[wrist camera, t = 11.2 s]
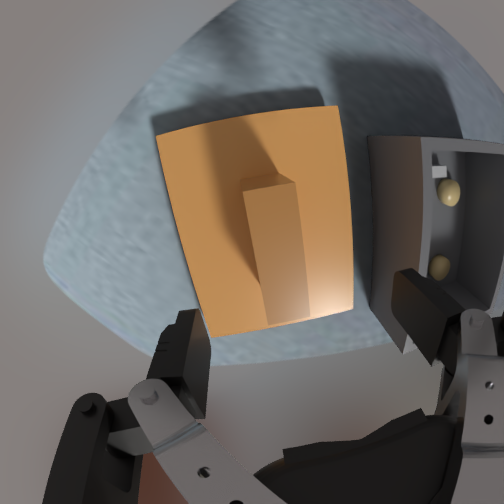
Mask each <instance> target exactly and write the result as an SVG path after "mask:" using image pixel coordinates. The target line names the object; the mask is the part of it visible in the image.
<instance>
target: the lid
mask: <svg viewBox="0 0 504 504" xmlns="http://www.w3.org/2000/svg"><path fill="white" fill-rule="evenodd" d="M156 139H157V144H158V149H159V154H160V158H161V163H162V167H163V172H164V176H165V180H166V185H167V189H168V193H169V197H170V201H171V205H172V209H173V213H174V217H175V221H176V224H177V228H178V232H179V235H180V239H181V243H182V246H183V250H184V253H185V257H186V260H187V263H188V267H189V270H190V274H191V277H192V280H193V283H194V287H195V290H196V293H197V296H198V299H199V302H200V305H201V308H202V311H203V314H204V317H205V320H206V323H207V326H208V329H209V332H210V335H211V338H213V337H219V336H226V335H232V334H238V333H244V332H250V331H255V330H261V329H266V328H271V327H277V326H282V325H286V324H291V323H296V322H301V321H305V320H310V319H314V318H318V317H323V316H327V315H331V314H335V313H339V312H343V311H347V310H351V309H353V238H352V219H351V205H350V193H349V182H348V172H347V164H346V156H345V148H344V141H343V134H342V128H341V121H340V115H339V110H338V106H321V107H307V108H297V109H287V110H279V111H271V112H264V113H257V114H251V115H245V116H239V117H233V118H228V119H223V120H218V121H213V122H209V123H204V124H200V125H195V126H191V127H187V128H183V129H179V130H176V131H172V132H168V133H165V134H161V135H158V136H156Z"/></svg>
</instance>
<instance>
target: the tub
mask: <svg viewBox="0 0 504 504" xmlns="http://www.w3.org/2000/svg"><path fill="white" fill-rule="evenodd" d="M367 141H368V150H369V160H370V172H371V187H372V210H373V261H372V284H371V299H370V309H371V311H372V312H373V313H374V315H375V316H376V318H377V319H378V320H379V322H380V323H381V324H382V326H383V327H384V329H385V330H386V331H387V333H388V334H389V336H390V337H391V338H392V340H393V341H394V343H395V344H396V345H397V347H398V348H399V350H400V351H401V353H402V354H405V353H407V352H410V351H412V350H415V349H418V347H417V346H416V345H415V343H414V342H413V341H412V339H411V338H410V337H409V335H408V334H407V333H406V331H405V330H404V329H403V327H402V326H401V325H400V324H399V322H398V321H397V320H396V318H395V317H394V316H393V313H392V310H391V298H392V288H393V278H394V274H395V272H396V271H400V270H404V269H408V268H413V269H414V270H416V271H417V272H418V273H419V274H420V275H421V276H424V277H426V278H428V279H430V280H433V281H434V282H435V283H436V284H438V285H439V286H440V287H441V289H443V290H445V291H446V293H447V294H449V295H450V296H451V297H452V298H454V299H455V300H456V301H457V302H458V303H459V304H460V305H461V306H462V307H463V308H464V309H466V310H468V309H479V310H482V311H484V312H486V313H487V314H488V315H489V314H491V313H492V311H493V308H494V305H495V302H496V299H497V295H498V292H499V288H500V285H501V281H502V277H503V273H504V144H499V143H493V142H486V141H479V140H471V139H462V138H449V137H433V136H367Z"/></svg>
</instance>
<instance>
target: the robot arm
mask: <svg viewBox="0 0 504 504" xmlns="http://www.w3.org/2000/svg"><path fill="white" fill-rule="evenodd" d="M391 310H392V313H393V316H394V317H395V318H396V320H397V321H398V322H399V324H400V325H401V326H402V327H403V329H404V330H405V331H406V333H407V334H408V335H409V337H410V338H411V339H412V341H413V342H414V343H415V345H416V346H417V347H418V349H419V350H420V351H421V353H422V354H423V355H424V357H425V358H426V360H427V361H428V362H429V364H430V365H431V367H432V366H434V365H436V364H439V363H441V362H442V363H443V364H444V366H443V368H442V371H441V379H440V387H439V394H438V400H437V406H436V410H435V413H434V415H427V416H425V414H424V413H423V411H422V409H421V408H420V409H418V410H415V411H413V412H411V413H408V414H406V415H404V416H401V417H399V418H396V419H394V420H391V421H390V422H388V423H387V424H385V425H384V426H382V427H381V428H379V429H378V430H376V431H374V432H372V433H371V434H369V435H367V436H366V437H364V438H362V439H360V440H351V441H334V442H318V443H313V444H308V445H304V446H299V447H293V448H287V449H283V455H284V458H281V459H279V460H277V461H274V462H272V463H270V464H268V465H267V466H265V467H263V468H262V469H260V470H259V471H258V472H256V473H255V474H254V475H252V474H251V473H250V472H248V471H247V470H246V469H245V468H244V467H243V466H242V465H241V464H240V463H239V462H238V461H236V459H234V457H233V456H232V455H230V453H228V451H227V450H226V449H225V448H224V447H222V445H221V444H220V443H219V442H218V441H217V440H216V439H215V438H214V437H213V436H212V435H211V434H210V433H209V431H208V430H207V429H206V428H205V427H204V426H203V425H202V424H201V423H198V422H196V420H195V419H205V416H206V415H205V414H206V403H207V392H208V380H209V369H210V359H211V345H210V340H209V337H208V334H207V331H206V328H205V325H204V322H203V319H202V316H201V313H200V310H199V309H190V310H182V311H179V313H178V316H177V319H176V323H175V324H171V325H168V326H167V327H166V328H165V330H164V331H163V332H162V333H161V335H160V338H159V341H158V345H157V347H156V350H155V351H156V352H155V353H154V356H153V359H152V362H151V365H150V368H149V371H148V374H147V378H146V380H143V381H141V382H139V383H138V384H136V385H135V386H134V387H133V388H132V389H131V391H130V392H129V395H128V397H127V398H123V399H119V400H114V401H110V402H107V401H106V400H105V399H104V398H103V396H101V395H100V394H97V393H88V394H85V395H83V396H81V397H80V398H79V399H78V400H77V401H76V402H75V403H74V405H73V407H72V409H71V412H70V414H69V417H68V420H67V422H66V425H65V428H64V431H63V433H62V436H61V439H60V442H59V445H58V448H57V451H56V455H55V458H54V461H53V464H52V468H51V471H50V475H49V478H48V482H47V486H46V490H45V494H44V498H43V503H42V504H138V494H139V485H140V476H141V468H142V460H143V454H145V453H150V452H153V453H154V455H155V457H156V458H157V460H158V462H159V463H160V465H161V466H162V468H163V469H164V471H165V472H166V474H167V475H168V476H169V478H170V479H171V481H172V482H173V483H174V485H175V486H176V487H177V489H178V490H179V491H180V493H181V494H182V495H183V497H184V498H185V499H186V500H187V501H188V503H189V504H504V312H503V315H502V316H501V317H495V318H491V317H490V316H489V315H488V314H487V313H486V312H484V311H482V310H479V309H468V310H466V309H464V308H463V307H462V306H461V305H460V304H459V303H458V302H457V301H456V300H455V299H454V298H452V297H451V296H450V295H449V294H447V293H446V291H445V290H443V289H441V287H440V286H439V285H438V284H436V283H435V282H434V281H433V280H430V279H428V278H426V277H424V276H421V275H420V274H419V273H418V272H417V271H416V270H414V269H413V268H408V269H404V270H400V271H396V272H395V274H394V278H393V288H392V298H391Z"/></svg>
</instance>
